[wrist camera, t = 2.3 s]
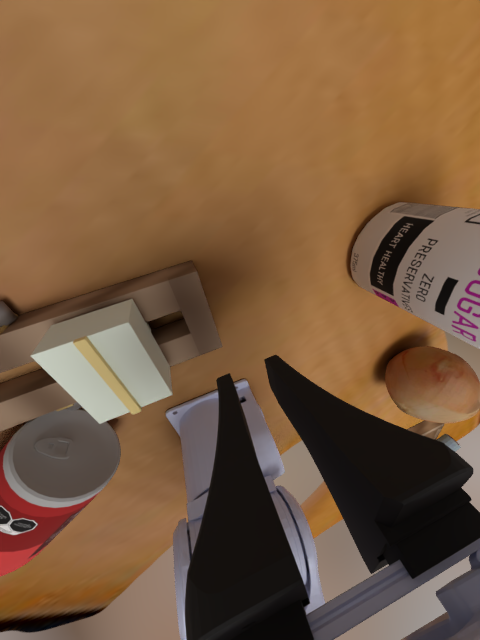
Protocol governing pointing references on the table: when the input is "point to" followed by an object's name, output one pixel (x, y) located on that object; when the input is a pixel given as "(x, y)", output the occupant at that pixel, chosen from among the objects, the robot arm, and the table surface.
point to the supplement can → (424, 264)
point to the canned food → (50, 479)
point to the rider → (106, 361)
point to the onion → (433, 385)
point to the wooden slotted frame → (146, 291)
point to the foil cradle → (427, 429)
